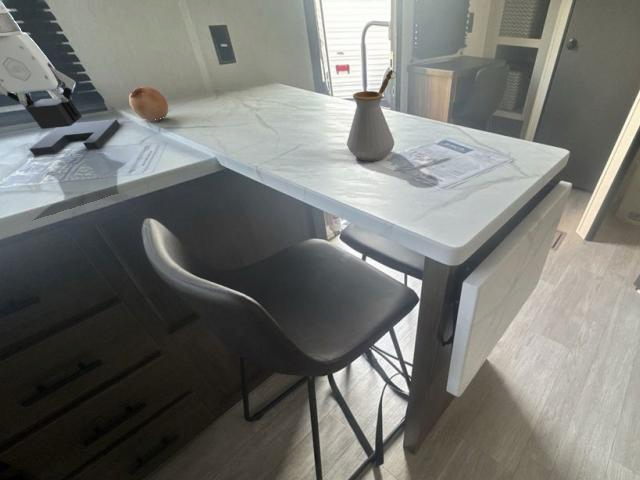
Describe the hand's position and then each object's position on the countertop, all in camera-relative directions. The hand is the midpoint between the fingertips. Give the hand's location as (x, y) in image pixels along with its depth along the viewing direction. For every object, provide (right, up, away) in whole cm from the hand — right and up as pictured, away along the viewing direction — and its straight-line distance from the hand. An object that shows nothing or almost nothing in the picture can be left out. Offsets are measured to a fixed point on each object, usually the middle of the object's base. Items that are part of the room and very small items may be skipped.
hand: (61, 120), depth 78 cm
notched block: (-3, -1, +8) cm, 8 cm away
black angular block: (0, 0, 0) cm, 1 cm away
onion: (+10, +11, +19) cm, 24 cm away
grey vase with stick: (+80, -6, +2) cm, 80 cm away
